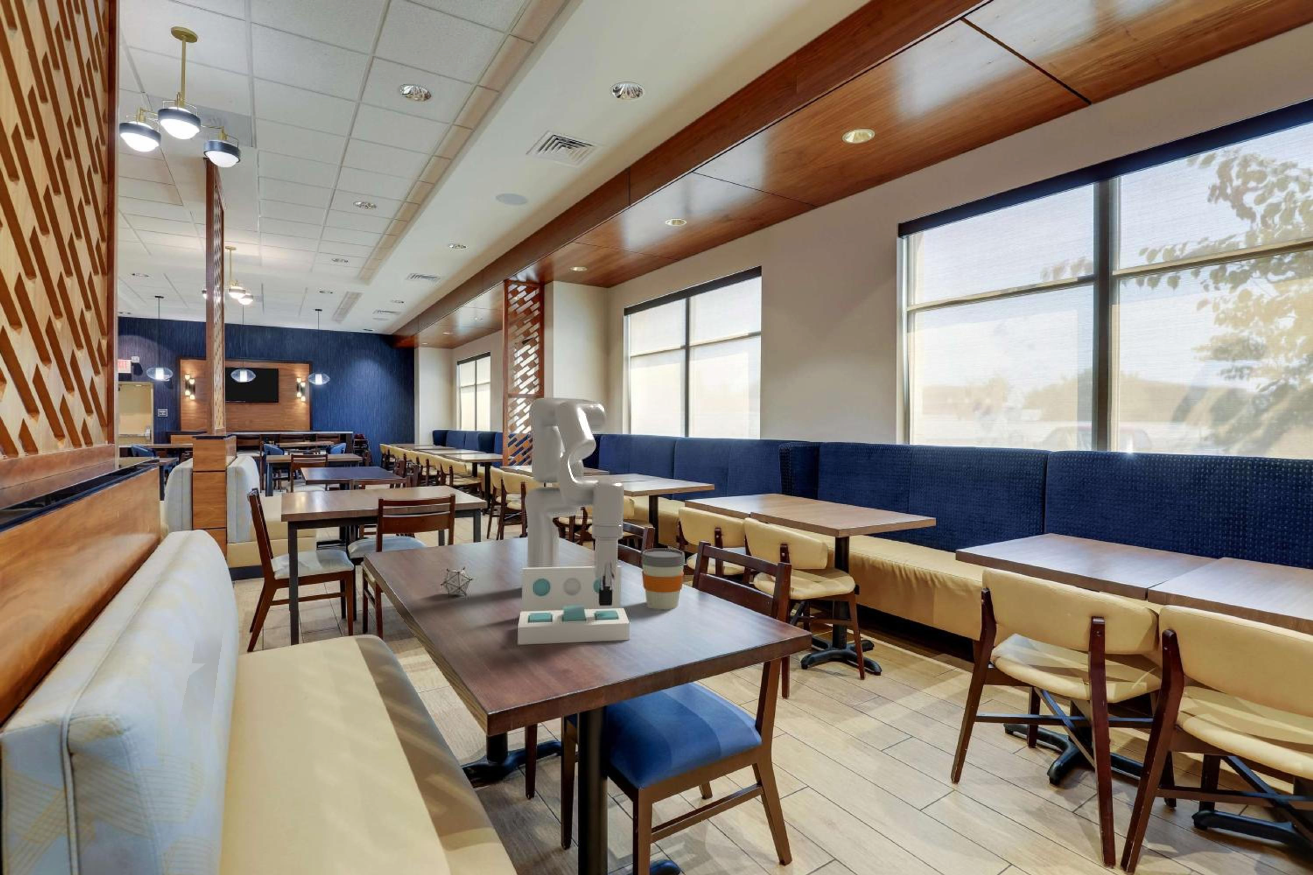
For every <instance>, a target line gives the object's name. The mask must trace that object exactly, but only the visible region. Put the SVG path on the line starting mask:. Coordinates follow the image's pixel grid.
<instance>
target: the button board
mask: <svg viewBox="0 0 1313 875" xmlns="http://www.w3.org/2000/svg"><path fill="white" fill-rule="evenodd" d="M611 610H615V611H616V613H617V616H618V619H616V620H595V614H596V611H611ZM584 611H585V621H563V610H553V611H523V612H522V611H520V614H519V619H518V626H517V646H518V645H535V644H536V645H537V644H538V645H540V644H541V645H542V644H561V643H562V644H564V643H566V644H567V643H582V642H585V643H588V642H590V643H591V642H607V641H608V642H609V641H610V642H611V641H629V640H630V624H631V623H630V620H629V618H628V616H627V612H626V611H625V608H622V607H620V608H613V609H584ZM530 613H551V622H534V623H530Z"/></svg>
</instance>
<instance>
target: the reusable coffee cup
mask: <svg viewBox="0 0 1313 875" xmlns="http://www.w3.org/2000/svg"><path fill="white" fill-rule="evenodd" d="M641 554H642V555H641V560H640V561H641V564H642V572H641V576H642V583H643V584H642V586H643V589H644V590H645V599H646V606H647V607H648V608H651V609H653V608H654V609H655V610H660V609H667V610H673V609H677V608H678V607H679V599H680V593H681V590H682V588H683V581H684V575H685V572H684V566H685V564H686V559H685V557H686V556H685V552H684V551H682V550H679V549H674V548H650V549H645V550H643V551H642V553H641ZM672 608H673V609H672Z"/></svg>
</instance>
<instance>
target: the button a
mask: <svg viewBox="0 0 1313 875" xmlns="http://www.w3.org/2000/svg"><path fill="white" fill-rule="evenodd" d="M534 622H551V613H530V623H534Z"/></svg>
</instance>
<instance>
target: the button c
mask: <svg viewBox="0 0 1313 875" xmlns="http://www.w3.org/2000/svg"><path fill="white" fill-rule="evenodd" d="M616 619H618V616H617V613H616V611H615V610H611V611H596V614H595V620H616Z"/></svg>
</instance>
